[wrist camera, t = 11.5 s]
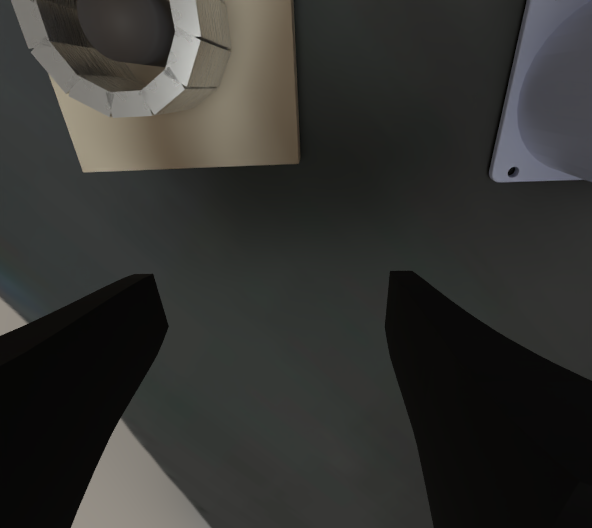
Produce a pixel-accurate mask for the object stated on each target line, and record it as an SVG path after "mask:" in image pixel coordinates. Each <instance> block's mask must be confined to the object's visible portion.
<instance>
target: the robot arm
mask: <svg viewBox="0 0 592 528" xmlns="http://www.w3.org/2000/svg"><path fill="white" fill-rule="evenodd" d="M512 167H515V171H514V173H513V174H512V175H509V176H508V171H509V169H511V168H512ZM489 176H490V178H491V179H492V180H494V181H495V182H528V181H558V180H587V181H590V182H592V0H527V1H526V6H525V10H524V15H523V20H522V24H521V29H520V33H519V38H518V42H517V47H516V51H515V56H514V60H513V65H512V69H511V74H510V79H509V83H508V88H507V92H506V97H505V101H504V106H503V110H502V115H501V119H500V124H499V128H498V133H497V138H496V142H495V147H494V151H493V156H492V160H491V165H490V169H489ZM168 327H169V326H168V323H167V319H166V316H165V312H164V309H163V306H162V302H161V299H160V296H159V292H158V289H157V285H156V282H155V279H154V275H153V274H134V275H131V276H128V277H125V278H123V279H121V280H118V281H116V282H114V283H112V284H110V285H108V286H105V287H103V288H101V289H99V290H97V291H95V292H93V293H91V294H89V295H87V296H85V297H83V298H81V299H79V300H77V301H75V302H73V303H71V304H69V305H67V306H65V307H63V308H61V309H59V310H57V311H54V312H52V313H50V314H48V315H46V316H44V317H42V318H39V319H37V320H35V321H33V322H31V323H29V324H27V325H24V326H22V327H20V328H18V329H15V330H13V331H11V332H8V333H6V334H4V335H1V336H0V528H71V525H72V523H73V520H74V518H75V515H76V513H77V510H78V508H79V505H80V503H81V501H82V499H83V496H84V494H85V492H86V489H87V487H88V484H89V482H90V480H91V478H92V475H93V473H94V471H95V468H96V466H97V464H98V462H99V460H100V458H101V456H102V453H103V451H104V449H105V447H106V445H107V443H108V440H109V438H110V436H111V434H112V432H113V431H114V429H115V427H116V425H117V423H118V421H119V419H120V418H121V416H122V414H123V413H124V411H125V409H126V408H127V406H128V404H129V402H130V401H131V399H132V397H133V396H134V394H135V392H136V391H137V389H138V387H139V386H140V384H141V382H142V380H143V379H144V377H145V375H146V374H147V372H148V370H149V368H150V367H151V365H152V363H153V361H154V360H155V358H156V356H157V354H158V352H159V350H160V347H161V345H162V343H163V340H164V337H165V335H166V332H167V330H168ZM385 331H386V337H387V343H388V348H389V354H390V358H391V361H392V365H393V368H394V371H395V374H396V378H397V381H398V384H399V387H400V390H401V393H402V397H403V400H404V403H405V406H406V409H407V412H408V416H409V419H410V422H411V425H412V428H413V432H414V436H415V439H416V443H417V447H418V452H419V457H420V462H421V466H422V471H423V476H424V480H425V485H426V490H427V495H428V500H429V506H430V511H431V516H432V521H433V526H434V528H592V381H591V380H589V379H586V378H584V377H582V376H580V375H578V374H576V373H574V372H572V371H570V370H567V369H565V368H563V367H561V366H559V365H557V364H555V363H553V362H551V361H549V360H547V359H545V358H543V357H541V356H539V355H537V354H535V353H534V352H532V351H530V350H528V349H526V348H525V347H523V346H521V345H519V344H517V343H516V342H514V341H512V340H510V339H508V338H507V337H505V336H503V335H502V334H500V333H498V332H497V331H495V330H494V329H492V328H490V327H489V326H487V325H486V324H484V323H483V322H481V321H480V320H478V319H477V318H475V317H474V316H472V315H471V314H469V313H468V312H466V311H465V310H464V309H462V308H461V307H459V306H458V305H457V304H455V303H454V302H452V301H451V300H450V299H448V298H447V297H446V296H444V295H443V294H442V293H440V292H439V291H438V290H437V289H435V288H434V287H433V286H431V285H430V284H429V283H428V282H426V281H425V280H424V279H422V278H421V277H420V276H418V275H417V274H416V273H414V272H413V271H390V277H389V288H388V298H387V309H386V320H385Z"/></svg>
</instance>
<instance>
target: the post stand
mask: <svg viewBox="0 0 592 528" xmlns="http://www.w3.org/2000/svg"><path fill="white" fill-rule="evenodd" d="M224 1H225V5H226V6H227V14H228V23H229V31H230V40H231V48H232V49H227V50H229V51H230V52H231V54H230V57H229V60H228V63H227V66H226V69H225V72H224V75H223V78H222V80H221V83H220V86H219V87H217V88H218V89H217V90H216V91H214V92H213V93H212V94H211V95H210V96H208V97H207V98H206V99H205V100H203V101H202V102H201V103H200V104H198V105H197V106H196V107H195V108H192V109H189V110H183V111H177V112H172V113H166V114H160V115H154V116H140V117H121V118H113V117H108V116H106V115H104V114H102V113H100V112H98V111H97V110H95V109H93V108H91V107H89V106H87V105H85V104H83V103H81V102H79V101H77V100H75V99H73V98H71V97H69V94H65V92H64V91H63V90H62V89H61V88H60V86H59V85H58V84H57V83H56V82H55V80H54V79H53V78H52V77H51V76H50V75H49V76H50V79H51V82H52V85H53V88H54V90H55V93H56V96H57V99H58V102H59V105H60V108H61V110H62V113H63V116H64V119H65V122H66V125H67V127H68V130H69V133H70V136H71V139H72V142H73V144H74V147H75V150H76V153H77V156H78V159H79V161H80V164H81V167H82V170H83V172H106V171H131V170H156V169H180V168H205V167H230V166H255V165H280V164H299V161H300V158H301V157H300V135H299V113H298V90H297V68H296V45H295V23H294V0H224ZM77 12H78V18H79V22H80V24H81V27H82V30H83V32H84V34H85V35H86V37H87V39H88V40H89V42H90V43H91V44H92V45H93V47H94V48H95V49H96V50H97V51H98V52H100V53H101V54H102V55H104V56H105V57H107V58H109V59H111V60H114V61H118V62H125V64H126V65H127V66H128V68H129V69H130V71H131V72H132V73H133V75H134V76H135V77H136V78H137V79H139V80H141V81H143V82H145V83H147V84H149V83H150V82H151V81H152V80H154V79H155V78H156V77H157V76H158V75H159V74H160V73H162V72H163V71H164V70H165V68H166V64H167V61H168V57H169V53H170V49H171V46H172V42H173V38H174V35H175V28H174V23H173V17H172V12H171V6H170V1H169V0H77Z"/></svg>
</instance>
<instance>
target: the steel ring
mask: <svg viewBox="0 0 592 528" xmlns="http://www.w3.org/2000/svg"><path fill="white" fill-rule="evenodd" d="M169 1H170V6H171V12H172V17H173V23H174V28H175V35H174V38H173V42H172V46H171V49H170V53H169V57H168V61H167V64H166V68H165V70H164V71H163V72H162V73H160V74H159V75H158V76H157V77H156V78H155V79H154V80H152V81H151V82H150V83H149V84H147V83H145V82H143V81H141V80H139V79H137V78H136V77H135V76H134V75H133V73H132V72H131V71H130V69H129V68H128V66H127V65H126V64H125V62H118V61H114V60H111V59H109V58H107V57H105V56H104V55H102V54H101V53H100V52H98V51H97V50H96V49H95V48H94V47H93V45H92V44H91V43H90V42H89V40H88V39H87V37H86V35H85V34H84V32H83V30H82V27H81V24H80V22H79V18H78V12H77V0H11V2H12V4H13V7H14V10H15V13H16V15H17V18H18V21H19V24H20V26H21V29H22V32H23V35H24V37H25V40H26V43H27V46H28V48H29V49H33V50H32V52H31V53H32V54H33V56H34V57H35V58H36V59H37V60H38V62H39V63H40V64H41V65H42V66H43V67H44V69H45V70H46V71H47V72H48V73H49V75H50V76H51V77H52V78H53V79H54V80H55V82H56V83H57V84H58V85H59V86H60V88H61V89H62V90H63V91H64V92H65V94H69V97H71V98H73V99H75V100H77V101H79V102H81V103H83V104H85V105H87V106H89V107H91V108H93V109H95V110H97V111H98V112H100V113H102V114H104V115H106V116H108V117H113V118H121V117H140V116H154V115H160V114H166V113H172V112H177V111H183V110H189V109H192V108H195V107H196V106H197V105H198V104H200V103H201V102H202V101H203V100H205V99H206V98H207V97H208V96H210V95H211V94H212V93H213V92H214V91H216V90H217V89H218V88H217V87H219V86H220V83H221V80H222V78H223V75H224V72H225V69H226V66H227V63H228V60H229V57H230V54H231V52H230V51H229V50H227V49H232V48H231V40H230V31H229V23H228V14H227V6H226V5H225V1H224V0H169Z"/></svg>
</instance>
